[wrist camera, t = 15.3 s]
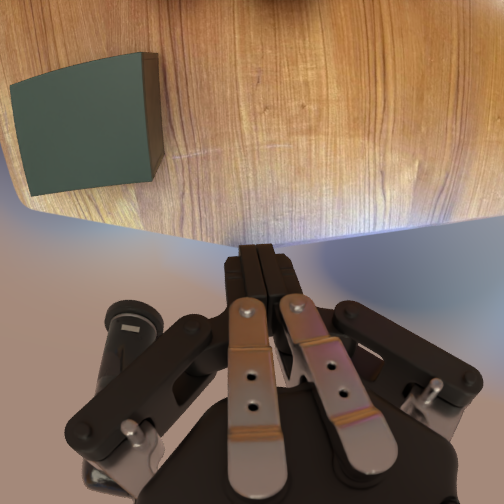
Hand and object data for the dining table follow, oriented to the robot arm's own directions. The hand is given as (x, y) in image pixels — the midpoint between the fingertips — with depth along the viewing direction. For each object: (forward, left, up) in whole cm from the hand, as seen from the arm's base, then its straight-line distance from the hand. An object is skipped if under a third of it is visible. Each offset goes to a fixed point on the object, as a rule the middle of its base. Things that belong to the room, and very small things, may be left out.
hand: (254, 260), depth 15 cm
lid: (+3, +16, -20) cm, 26 cm away
